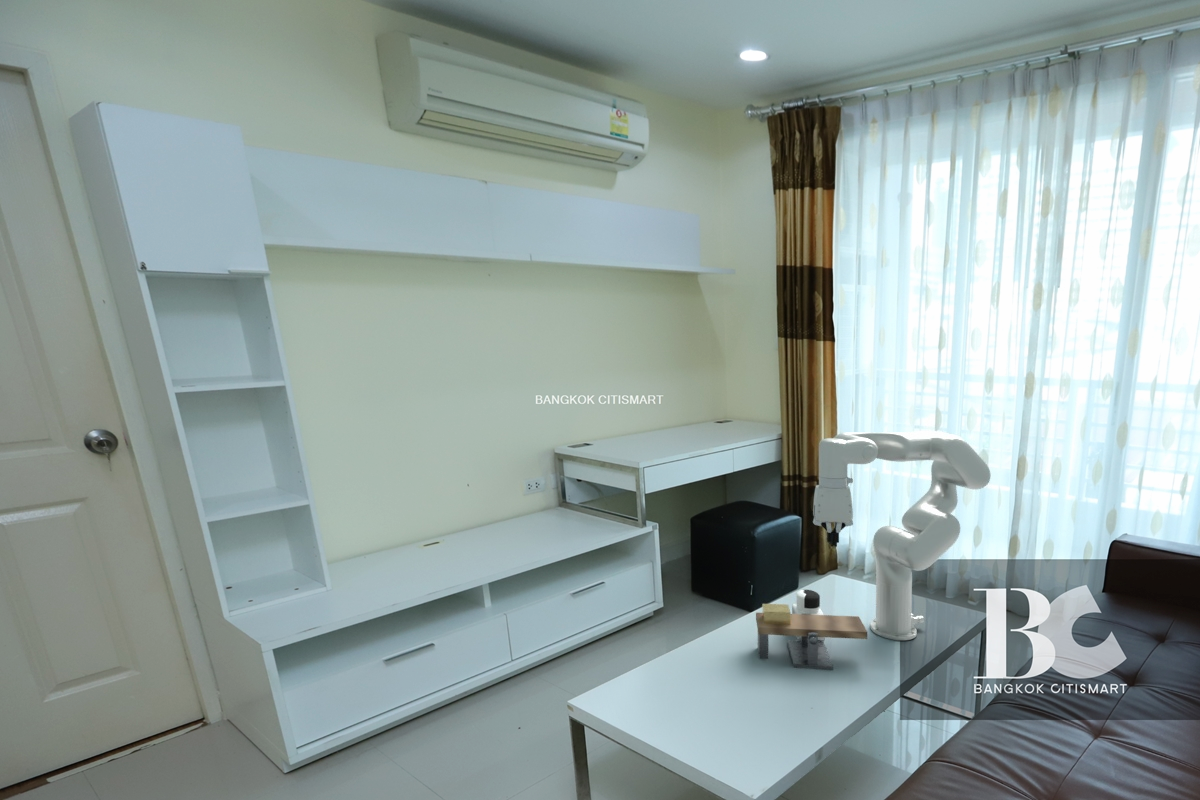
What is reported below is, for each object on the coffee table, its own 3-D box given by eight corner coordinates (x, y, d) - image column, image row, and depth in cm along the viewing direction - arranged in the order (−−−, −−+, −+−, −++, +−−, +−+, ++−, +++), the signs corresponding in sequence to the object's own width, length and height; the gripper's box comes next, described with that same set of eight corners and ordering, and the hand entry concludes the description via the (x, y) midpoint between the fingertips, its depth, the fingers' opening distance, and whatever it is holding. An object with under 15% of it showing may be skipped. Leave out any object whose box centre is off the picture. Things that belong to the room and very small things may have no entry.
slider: (788, 616, 168) (788, 604, 168) (790, 624, 163) (790, 612, 163) (762, 615, 170) (762, 603, 169) (764, 623, 165) (764, 611, 164)
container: (817, 628, 181) (818, 587, 180) (824, 641, 174) (825, 598, 172) (791, 627, 182) (791, 586, 181) (797, 640, 174) (797, 597, 173)
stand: (823, 644, 171) (823, 613, 170) (833, 671, 158) (833, 636, 157) (756, 641, 175) (756, 609, 174) (760, 666, 161) (760, 632, 160)
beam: (858, 623, 167) (858, 616, 166) (867, 639, 158) (867, 631, 158) (756, 619, 172) (755, 612, 172) (758, 634, 163) (758, 627, 163)
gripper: (857, 479, 171) (857, 541, 173) (803, 479, 174) (803, 540, 175) (864, 485, 164) (864, 550, 165) (807, 485, 166) (807, 548, 168)
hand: (832, 544), depth 170 cm, fingers closed
